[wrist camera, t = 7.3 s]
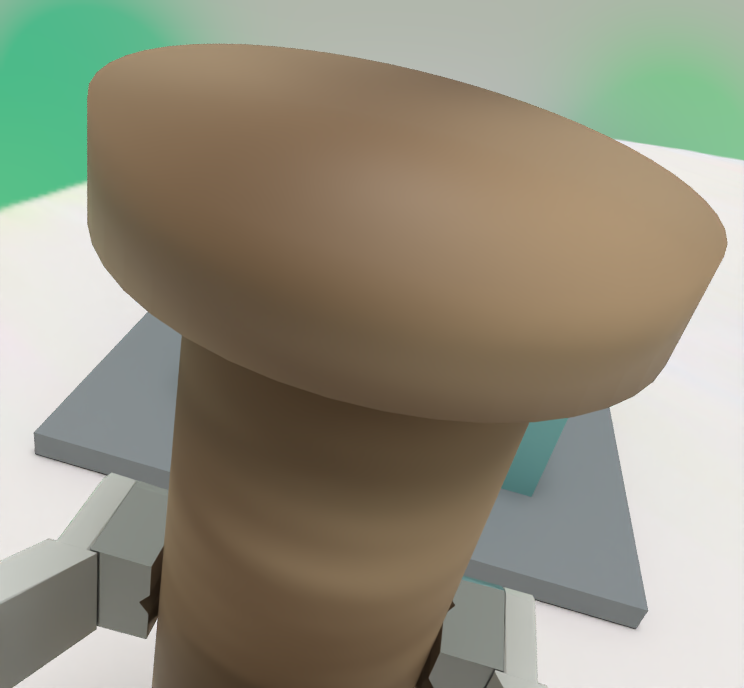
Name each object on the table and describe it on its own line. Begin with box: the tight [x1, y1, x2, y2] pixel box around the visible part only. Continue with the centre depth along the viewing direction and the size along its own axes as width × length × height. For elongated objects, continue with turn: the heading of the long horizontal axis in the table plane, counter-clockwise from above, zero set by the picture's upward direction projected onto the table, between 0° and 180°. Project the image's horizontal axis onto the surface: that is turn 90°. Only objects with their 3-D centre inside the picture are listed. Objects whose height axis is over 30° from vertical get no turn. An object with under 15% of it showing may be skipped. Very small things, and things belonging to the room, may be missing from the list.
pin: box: [87, 44, 727, 688], centre depth 12 cm, size 6×6×17 cm
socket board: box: [34, 312, 648, 628], centre depth 33 cm, size 22×22×6 cm
